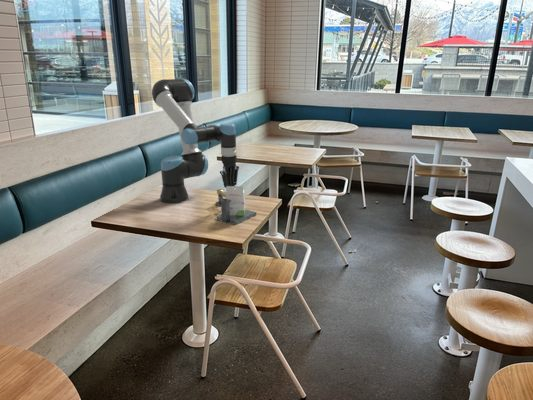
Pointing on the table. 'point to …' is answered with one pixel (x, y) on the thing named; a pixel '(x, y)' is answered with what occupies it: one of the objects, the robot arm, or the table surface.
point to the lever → (221, 192)
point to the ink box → (236, 200)
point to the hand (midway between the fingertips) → (231, 199)
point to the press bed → (228, 218)
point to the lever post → (218, 200)
